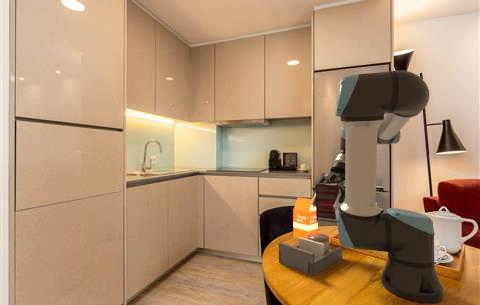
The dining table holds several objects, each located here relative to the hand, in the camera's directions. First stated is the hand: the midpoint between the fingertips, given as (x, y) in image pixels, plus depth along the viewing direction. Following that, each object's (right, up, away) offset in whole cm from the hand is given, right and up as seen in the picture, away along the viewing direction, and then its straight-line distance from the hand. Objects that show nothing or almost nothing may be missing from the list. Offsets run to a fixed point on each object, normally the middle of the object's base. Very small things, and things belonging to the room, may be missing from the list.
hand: (323, 206), depth 99 cm
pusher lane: (-7, -20, -7) cm, 22 cm away
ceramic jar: (-3, -19, -4) cm, 19 cm away
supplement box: (+2, -7, +2) cm, 8 cm away
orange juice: (-2, -20, +19) cm, 28 cm away
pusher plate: (-7, -18, -7) cm, 21 cm away
